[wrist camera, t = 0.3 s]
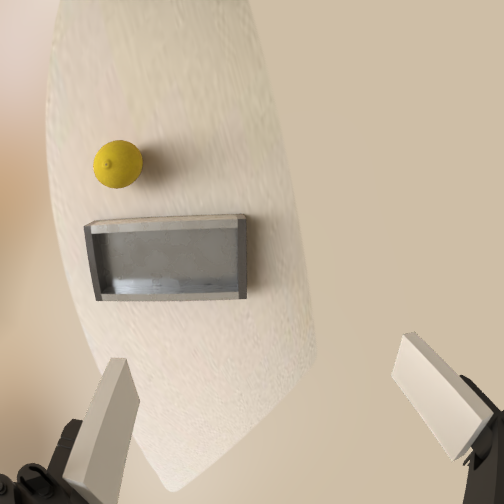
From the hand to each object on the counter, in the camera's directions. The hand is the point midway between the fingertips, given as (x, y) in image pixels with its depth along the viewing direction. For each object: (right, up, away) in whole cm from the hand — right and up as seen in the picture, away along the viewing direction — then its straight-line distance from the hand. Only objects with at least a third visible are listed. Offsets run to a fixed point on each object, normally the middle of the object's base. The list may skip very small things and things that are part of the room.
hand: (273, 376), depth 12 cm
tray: (-12, +5, +25) cm, 28 cm away
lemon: (-16, +17, +21) cm, 32 cm away
